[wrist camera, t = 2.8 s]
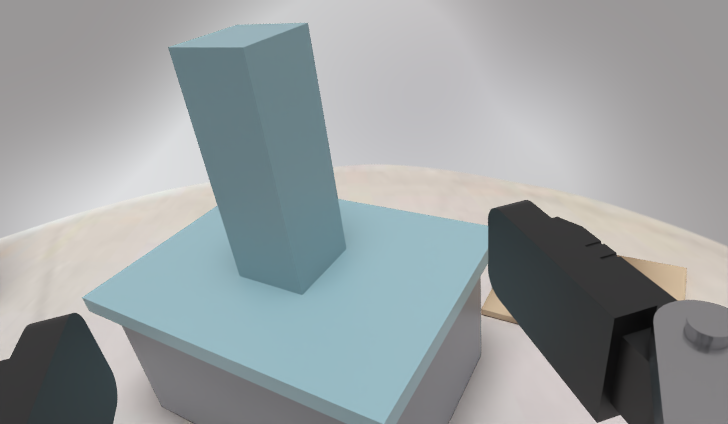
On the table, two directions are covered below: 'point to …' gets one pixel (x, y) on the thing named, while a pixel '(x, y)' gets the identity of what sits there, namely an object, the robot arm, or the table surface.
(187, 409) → the tub
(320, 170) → the lid
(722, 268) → the table surface
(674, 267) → the mat
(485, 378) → the table surface
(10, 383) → the robot arm
